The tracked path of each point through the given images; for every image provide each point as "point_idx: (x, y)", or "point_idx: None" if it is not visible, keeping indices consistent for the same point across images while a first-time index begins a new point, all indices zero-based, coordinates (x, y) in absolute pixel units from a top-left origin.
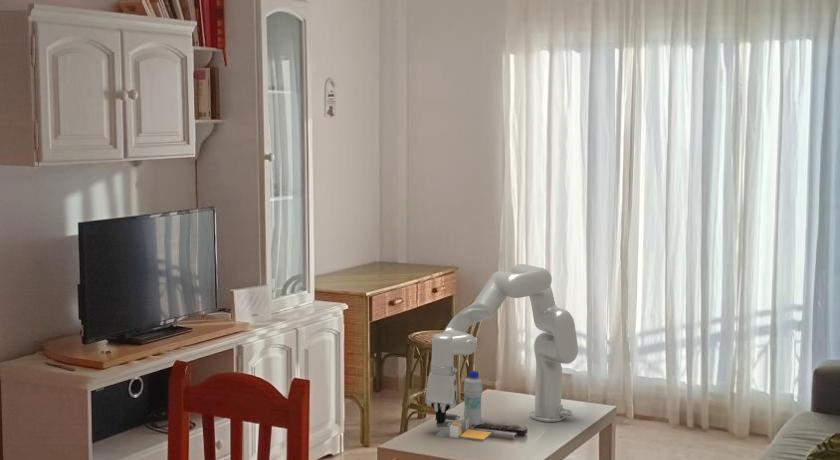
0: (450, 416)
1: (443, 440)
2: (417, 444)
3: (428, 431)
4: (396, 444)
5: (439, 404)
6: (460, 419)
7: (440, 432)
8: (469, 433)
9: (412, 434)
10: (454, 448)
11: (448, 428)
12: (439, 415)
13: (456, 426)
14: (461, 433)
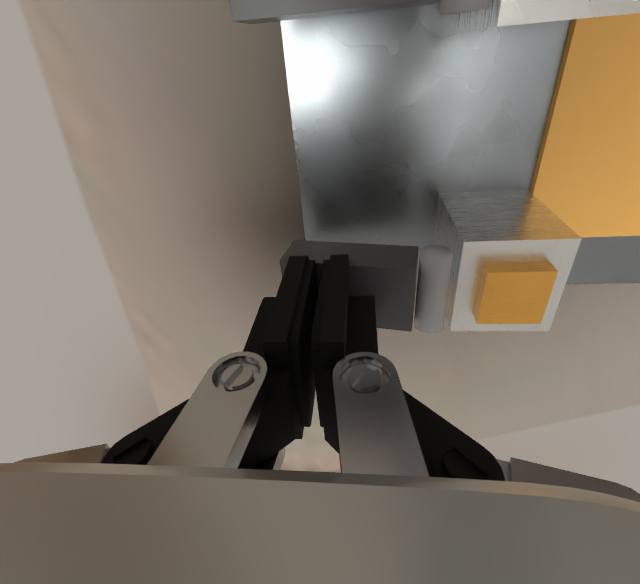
0: (351, 6)
1: None
2: None
3: (170, 126)
4: None
5: (237, 460)
6: (549, 13)
7: (313, 195)
8: (624, 114)
9: (132, 258)
10: (500, 387)
11: None
12: (312, 383)
13: (523, 328)
14: (521, 127)
